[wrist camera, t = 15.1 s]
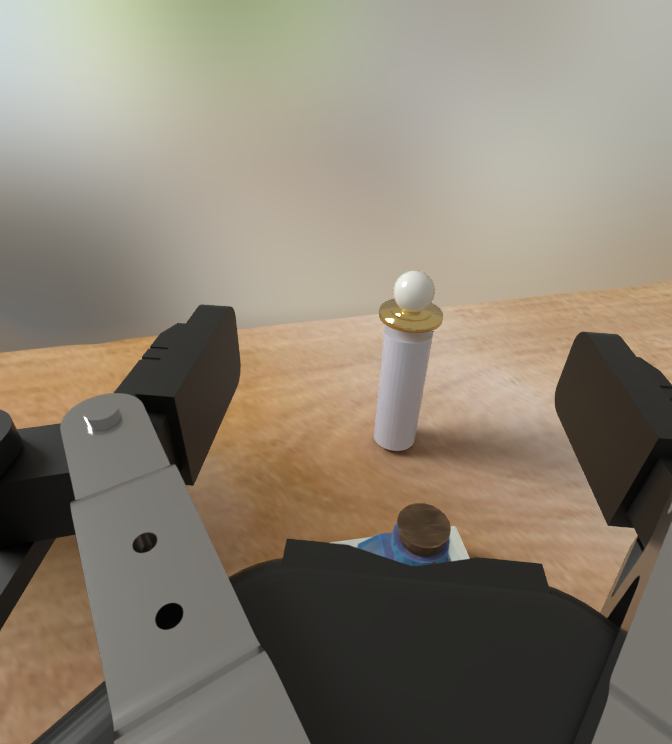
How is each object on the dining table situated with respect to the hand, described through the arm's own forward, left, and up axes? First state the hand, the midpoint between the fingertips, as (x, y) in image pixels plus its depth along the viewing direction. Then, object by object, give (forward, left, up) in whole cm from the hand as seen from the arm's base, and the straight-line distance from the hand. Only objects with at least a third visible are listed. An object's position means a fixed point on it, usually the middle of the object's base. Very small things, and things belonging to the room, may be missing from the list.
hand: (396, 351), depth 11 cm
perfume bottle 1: (+11, +27, -30) cm, 42 cm away
